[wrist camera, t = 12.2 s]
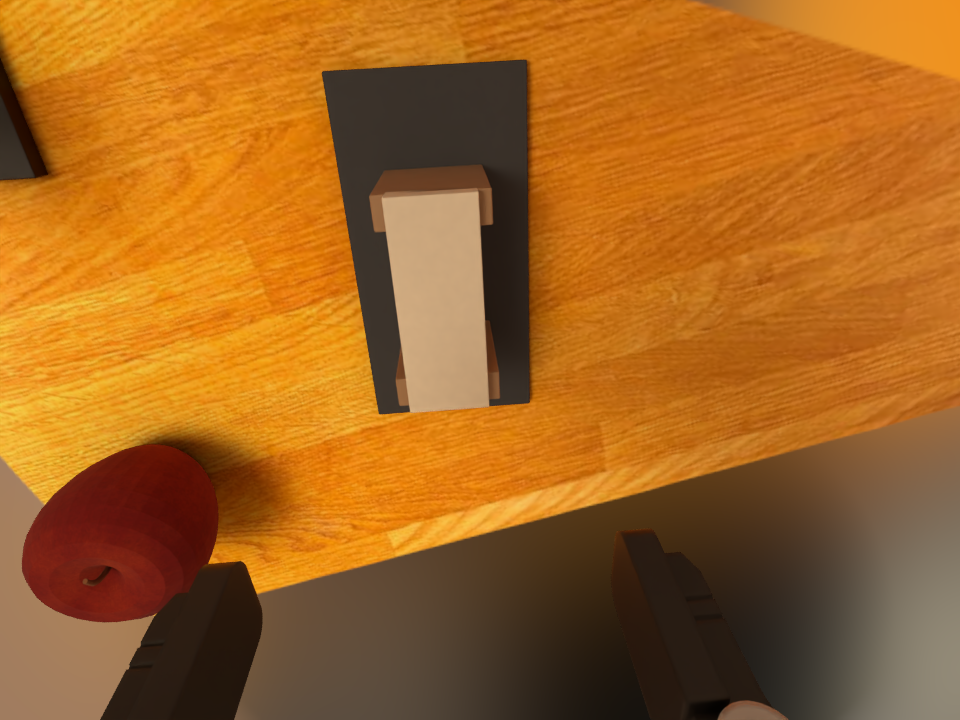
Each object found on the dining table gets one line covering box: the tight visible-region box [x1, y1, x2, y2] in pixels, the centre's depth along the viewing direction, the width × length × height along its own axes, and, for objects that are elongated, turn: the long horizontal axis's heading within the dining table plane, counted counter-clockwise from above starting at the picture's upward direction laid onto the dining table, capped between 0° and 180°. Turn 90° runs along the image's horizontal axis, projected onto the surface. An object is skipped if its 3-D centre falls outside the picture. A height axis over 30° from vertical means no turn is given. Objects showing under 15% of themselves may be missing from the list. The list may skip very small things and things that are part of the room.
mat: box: [322, 60, 530, 414], centre depth 31 cm, size 20×10×1 cm, turn 3°
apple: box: [22, 444, 218, 622], centre depth 33 cm, size 10×10×10 cm
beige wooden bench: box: [369, 164, 500, 413], centre depth 28 cm, size 11×5×7 cm, turn 3°
